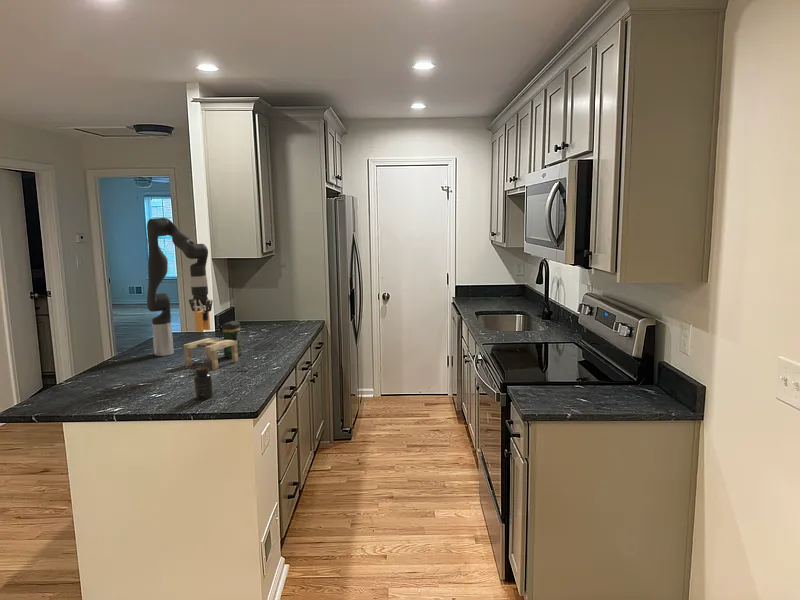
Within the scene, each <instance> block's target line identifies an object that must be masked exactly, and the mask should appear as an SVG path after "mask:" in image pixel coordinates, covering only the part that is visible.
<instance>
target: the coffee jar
mask: <svg viewBox="0 0 800 600" xmlns="http://www.w3.org/2000/svg"><path fill="white" fill-rule="evenodd" d="M222 333H223V340H234V341H237V343H238V344H237V350H238V357H240V356H241V355H242V354H243V348H242V340H241V323H240V321H238V320H231V321H228V322H225V323H223V324H222ZM223 356H224V358H228V359H230V358H231V359H232V349H231V346H228V347H225V348H223Z"/></svg>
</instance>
